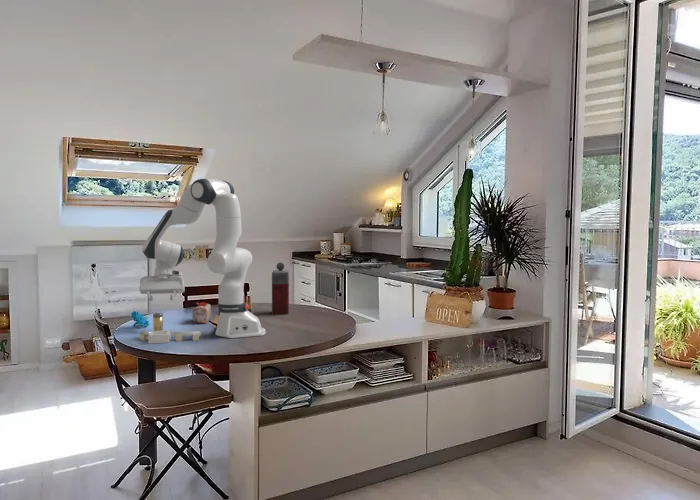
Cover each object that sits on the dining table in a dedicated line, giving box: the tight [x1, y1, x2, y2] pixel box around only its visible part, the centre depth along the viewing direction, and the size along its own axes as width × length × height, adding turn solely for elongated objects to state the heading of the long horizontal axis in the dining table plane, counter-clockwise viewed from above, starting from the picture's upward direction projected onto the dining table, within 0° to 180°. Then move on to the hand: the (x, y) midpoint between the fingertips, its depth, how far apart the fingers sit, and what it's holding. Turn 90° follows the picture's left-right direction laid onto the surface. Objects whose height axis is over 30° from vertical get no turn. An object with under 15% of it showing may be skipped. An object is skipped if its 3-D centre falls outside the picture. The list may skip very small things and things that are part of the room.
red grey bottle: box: [271, 261, 290, 316], centre depth 293 cm, size 9×11×28 cm
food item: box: [191, 301, 212, 324], centre depth 270 cm, size 14×8×10 cm, turn 6°
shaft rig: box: [147, 330, 202, 344], centre depth 230 cm, size 21×8×4 cm, turn 102°
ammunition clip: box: [243, 295, 253, 314], centre depth 278 cm, size 11×2×12 cm, turn 88°
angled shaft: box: [139, 330, 151, 341], centre depth 231 cm, size 4×4×4 cm
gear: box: [130, 310, 150, 328], centre depth 257 cm, size 11×6×10 cm
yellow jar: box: [152, 312, 164, 331], centre depth 238 cm, size 4×4×10 cm
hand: (161, 299), depth 248 cm, fingers open, 8 cm apart
